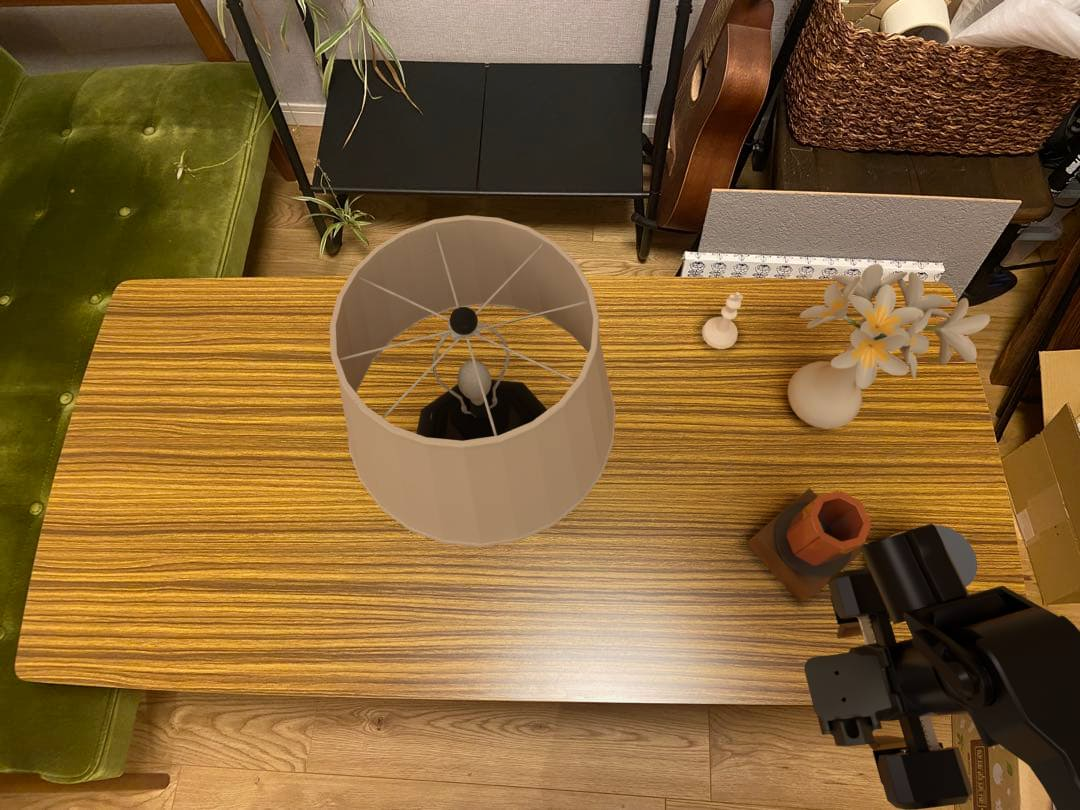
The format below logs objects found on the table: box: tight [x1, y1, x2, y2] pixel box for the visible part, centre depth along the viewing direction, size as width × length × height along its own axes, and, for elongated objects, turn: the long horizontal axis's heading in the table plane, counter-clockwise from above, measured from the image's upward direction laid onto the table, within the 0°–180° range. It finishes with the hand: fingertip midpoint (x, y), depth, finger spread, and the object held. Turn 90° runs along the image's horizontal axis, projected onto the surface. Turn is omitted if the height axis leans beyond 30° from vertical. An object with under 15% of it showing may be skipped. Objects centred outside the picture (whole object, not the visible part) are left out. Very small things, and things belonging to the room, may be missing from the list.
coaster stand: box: [745, 487, 866, 604], centre depth 84 cm, size 9×9×6 cm
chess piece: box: [701, 291, 744, 350], centre depth 95 cm, size 5×5×10 cm
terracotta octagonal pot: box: [786, 490, 872, 566], centre depth 77 cm, size 6×6×8 cm
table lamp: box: [329, 214, 617, 548], centre depth 72 cm, size 27×27×40 cm
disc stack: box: [866, 524, 978, 588], centre depth 81 cm, size 9×9×9 cm
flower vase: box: [786, 263, 991, 430], centre depth 83 cm, size 13×18×25 cm
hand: (855, 686), depth 68 cm, fingers open, 9 cm apart
